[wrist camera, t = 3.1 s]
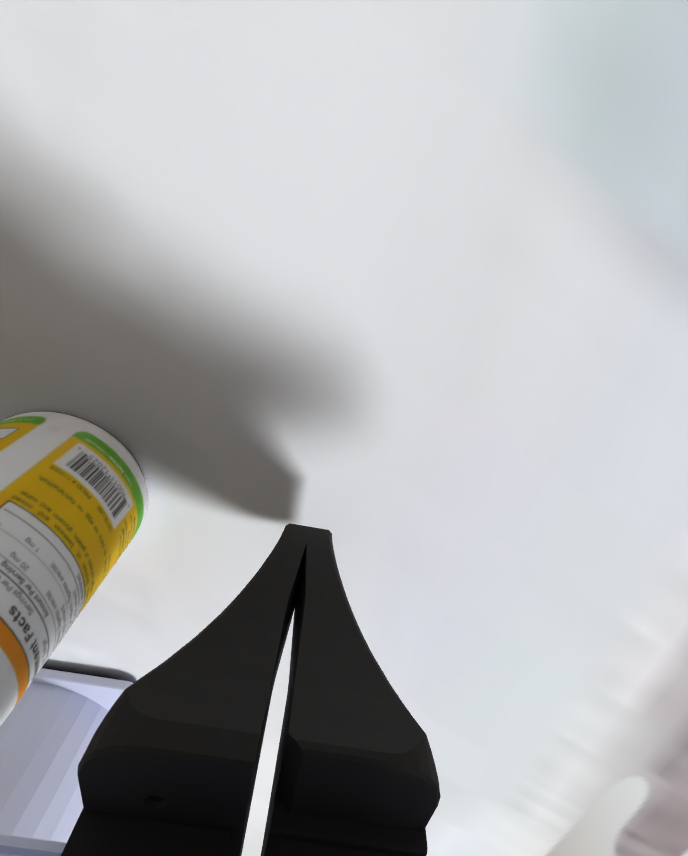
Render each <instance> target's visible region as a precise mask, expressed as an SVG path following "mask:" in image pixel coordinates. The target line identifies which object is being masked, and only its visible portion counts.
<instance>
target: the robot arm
mask: <svg viewBox="0 0 688 856" xmlns="http://www.w3.org/2000/svg"><path fill="white" fill-rule="evenodd" d="M294 608H295V612H294ZM293 612H294V624H293V637H292V649H291V662H290V675H289V685H288V693H287V700H286V706H285V713H284V719H283V725H282V731H281V737H280V743H279V749H278V755H277V761H276V768H275V774H274V780H273V786H272V792H271V798H270V804H269V810H268V816H267V822H266V828H265V834H264V840H263V846H262V852H261V856H426V855H427V840H426V830H425V827H426V826H427V824H428V822H429V820H430V818H431V817H432V815H433V813H434V811H435V809H436V808H437V806H438V803H439V800H440V790H439V781H438V776H437V772H436V767H435V763H434V759H433V755H432V752H431V748H430V745H429V742H428V739H427V736H426V734H425V732H424V731H423V730H422V728H421V727H420V726H419V725H418V723H417V722H416V721H415V719H414V718H413V717H412V715H411V714H410V712H409V711H408V710H407V708H406V707H405V706H404V704H403V703H402V701H401V700H400V698H399V697H398V695H397V694H396V692H395V691H394V689H393V688H392V686H391V685H390V683H389V682H388V680H387V678H386V676H385V675H384V673H383V671H382V670H381V668H380V666H379V665H378V663H377V661H376V660H375V658H374V656H373V654H372V653H371V651H370V649H369V647H368V645H367V643H366V641H365V639H364V637H363V635H362V633H361V631H360V628H359V626H358V624H357V622H356V619H355V617H354V615H353V612H352V610H351V607H350V605H349V602H348V599H347V597H346V594H345V591H344V588H343V585H342V581H341V578H340V575H339V571H338V568H337V564H336V559H335V555H334V550H333V544H332V533H331V532H330V531H329V530H325V529H319V528H313V527H307V526H302V525H296V524H288V525H286V526H285V529H284V531H283V533H282V535H281V537H280V539H279V541H278V543H277V544H276V546H275V547H274V549H273V551H272V552H271V554H270V555H269V557H268V558H267V559H266V561H265V562H264V564H263V565H262V566H261V568H260V569H259V571H258V572H257V573H256V574H255V576H254V577H253V578H252V579H251V580H250V582H249V583H248V584H247V585H246V587H245V588H244V589H243V590H242V591H241V593H240V594H239V595H238V596H237V597H236V598H235V599H234V600H233V601H232V602H231V603H230V605H229V606H228V607H227V608H226V609H225V610H224V611H223V612H222V613H221V614H220V615H219V616H218V617H217V618H216V619H214V620H213V621H212V622H211V623H210V624H209V625H208V626H207V627H206V628H205V629H204V630H203V631H202V632H200V633H199V634H198V635H197V636H196V637H195V638H194V639H192V640H191V641H190V642H189V643H187V644H186V645H185V646H184V647H182V648H181V649H180V650H179V651H177V652H176V653H175V654H174V655H172V656H171V657H170V658H169V659H167V660H166V661H165V662H163V663H162V664H161V665H159V666H158V667H156V668H155V669H153V670H152V671H150V672H149V673H148V674H146V675H145V676H143V677H142V678H140V679H139V680H137V681H136V682H135V683H132V682H129V681H124V680H117V679H111V678H104V677H97V676H91V675H84V674H77V673H71V672H64V671H57V670H51V669H44V668H41V669H40V671H39V672H38V674H37V675H36V677H35V678H34V680H33V682H32V683H31V684H30V686H29V687H28V688H27V690H26V691H25V693H24V694H23V695H22V697H21V698H20V700H19V701H18V703H17V704H16V706H15V707H14V709H13V710H12V711H11V713H10V714H9V715H8V717H7V718H6V719H5V721H4V722H3V724H2V725H1V726H0V856H241V854H242V849H243V843H244V838H245V833H246V827H247V822H248V817H249V811H250V806H251V801H252V795H253V790H254V785H255V779H256V774H257V769H258V763H259V758H260V753H261V748H262V742H263V737H264V732H265V726H266V721H267V716H268V710H269V705H270V700H271V695H272V690H273V686H274V682H275V677H276V674H277V670H278V666H279V663H280V659H281V656H282V652H283V648H284V645H285V641H286V637H287V634H288V630H289V627H290V623H291V619H292V616H293Z"/></svg>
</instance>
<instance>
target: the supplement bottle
mask: <svg viewBox="0 0 688 856" xmlns="http://www.w3.org/2000/svg"><path fill="white" fill-rule="evenodd" d="M147 508H148V490H147V486H146V482H145V479H144V477H143V474H142V472H141V470H140V468H139V466H138V464H137V463H136V461H135V460H134V458H133V457H132V456H131V454H130V453H129V452H128V451H127V449H126V448H125V447H124V446H123V445H122V444H121V443H120V442H119V441H117V440H116V439H115V438H114V437H113V436H111V435H110V434H109V433H107V432H106V431H104V430H103V429H101V428H100V427H98V426H96V425H94V424H92V423H90V422H87V421H85V420H82V419H80V418H77V417H74V416H70V415H66V414H62V413H55V412H29V413H23V414H18V415H15V416H12V417H9V418H7V419H5V420H3V421H1V422H0V726H1V725H2V724H3V722H4V721H5V719H6V718H7V717H8V715H9V714H10V713H11V711H12V710H13V709H14V707H15V706H16V704H17V703H18V701H19V700H20V698H21V697H22V695H23V694H24V693H25V691H26V690H27V688H28V687H29V686H30V684H31V683H32V682H33V680H34V678H35V677H36V675H37V674H38V672H39V671H40V669H41V668H42V667H43V665H44V664H45V662H46V661H47V659H48V658H49V657H50V655H51V654H52V652H53V651H54V649H55V648H56V647H57V645H58V644H59V642H60V641H61V640H62V638H63V637H64V635H65V634H66V632H67V631H68V629H69V628H70V626H71V625H72V624H73V622H74V621H75V620H76V618H77V617H78V615H79V614H80V612H81V611H82V610H83V608H84V607H85V605H86V604H87V603H88V601H89V600H90V598H91V597H92V595H93V594H94V593H95V591H96V590H97V588H98V587H99V586H100V584H101V583H102V581H103V580H104V578H105V577H106V576H107V574H108V573H109V571H110V570H111V569H112V567H113V566H114V564H115V563H116V561H117V560H118V559H119V557H120V556H121V554H122V553H123V552H124V550H125V549H126V547H127V546H128V544H129V543H130V542H131V540H132V539H133V537H134V536H135V534H136V532H137V531H138V529H139V528H140V526H141V525H142V523H143V520H144V518H145V516H146V512H147Z"/></svg>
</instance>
